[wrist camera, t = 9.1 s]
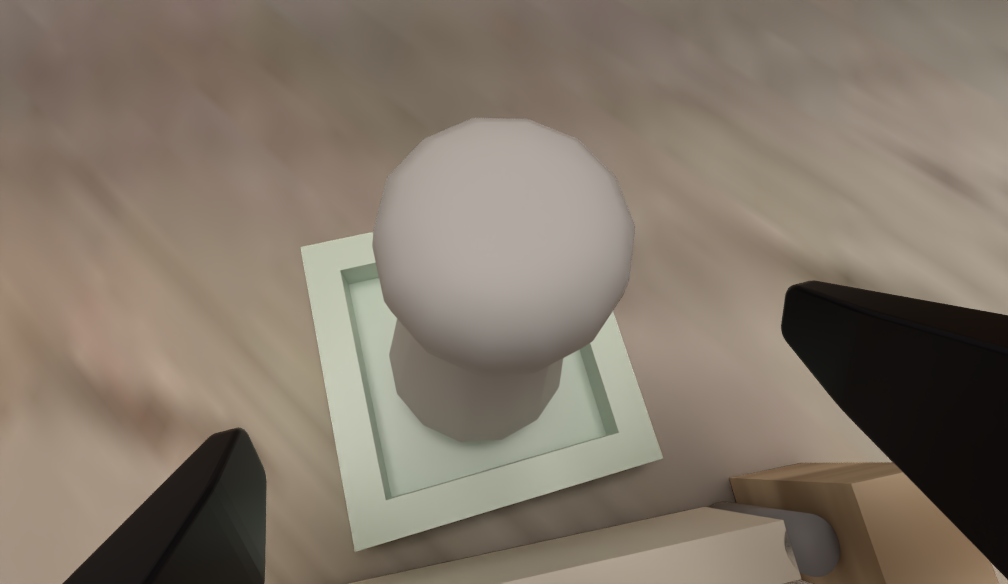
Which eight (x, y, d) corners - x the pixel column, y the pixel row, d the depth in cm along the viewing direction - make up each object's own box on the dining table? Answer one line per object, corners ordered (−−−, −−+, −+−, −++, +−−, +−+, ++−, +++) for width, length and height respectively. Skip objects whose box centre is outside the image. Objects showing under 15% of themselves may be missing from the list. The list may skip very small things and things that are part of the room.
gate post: (828, 546, 20) (999, 584, 14) (754, 564, 20) (895, 610, 13) (800, 462, 21) (949, 462, 15) (729, 477, 20) (850, 483, 14)
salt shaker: (365, 355, 20) (222, 180, 8) (481, 263, 21) (520, -7, 9) (467, 480, 19) (494, 510, 7) (582, 374, 20) (777, 237, 8)
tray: (641, 459, 20) (663, 458, 18) (366, 542, 19) (354, 551, 17) (561, 215, 23) (571, 190, 21) (315, 268, 21) (300, 247, 19)
